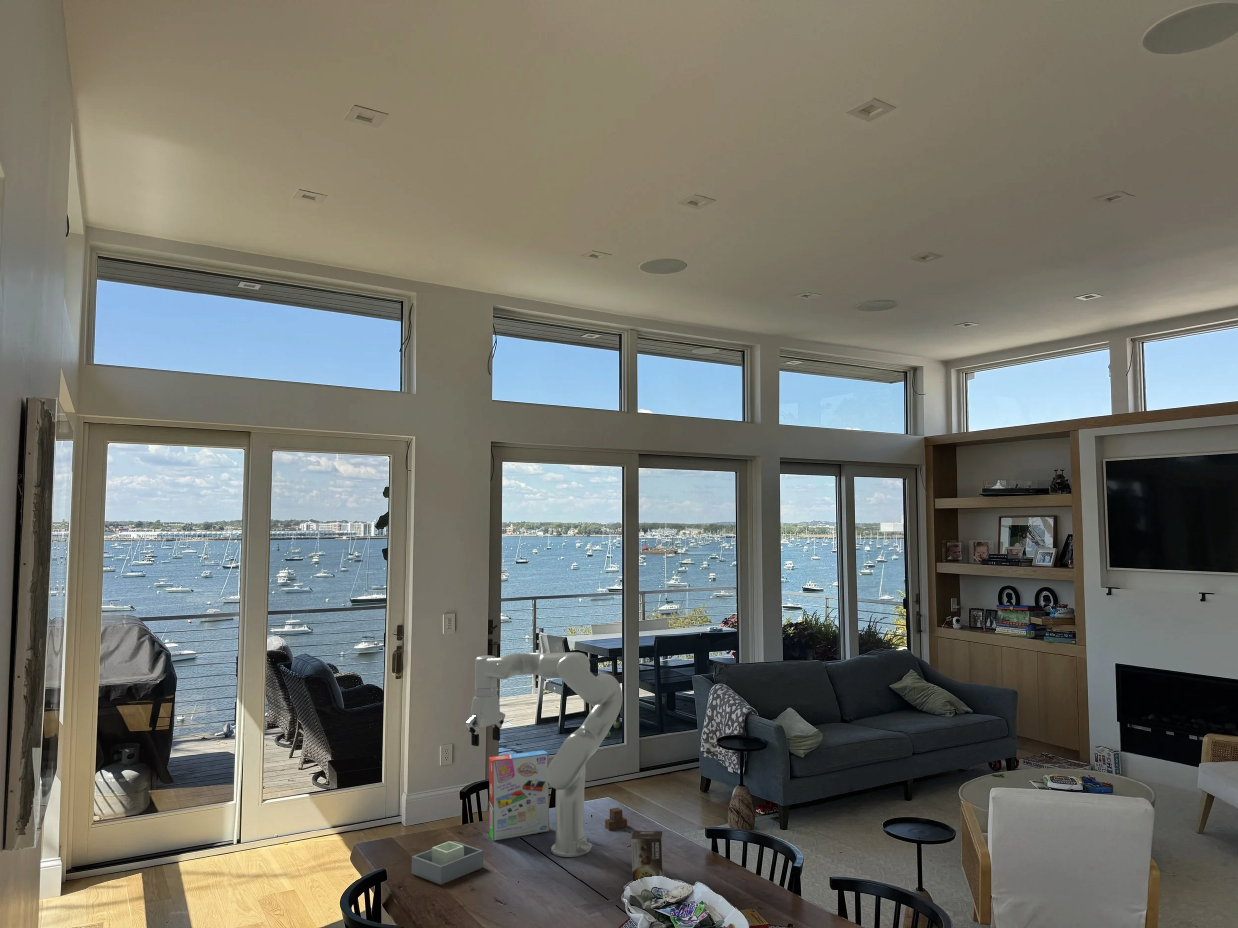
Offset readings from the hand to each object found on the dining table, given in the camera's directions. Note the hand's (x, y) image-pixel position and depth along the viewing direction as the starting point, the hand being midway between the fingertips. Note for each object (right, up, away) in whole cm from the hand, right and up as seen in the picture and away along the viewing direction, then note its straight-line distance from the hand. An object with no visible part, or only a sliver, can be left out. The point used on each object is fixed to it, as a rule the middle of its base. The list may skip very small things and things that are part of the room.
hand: (485, 742), depth 290 cm
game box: (+11, -34, +5) cm, 36 cm away
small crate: (-8, -31, -26) cm, 41 cm away
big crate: (-8, -32, -27) cm, 42 cm away
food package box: (+54, -29, -44) cm, 76 cm away
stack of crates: (+46, -35, +10) cm, 58 cm away
